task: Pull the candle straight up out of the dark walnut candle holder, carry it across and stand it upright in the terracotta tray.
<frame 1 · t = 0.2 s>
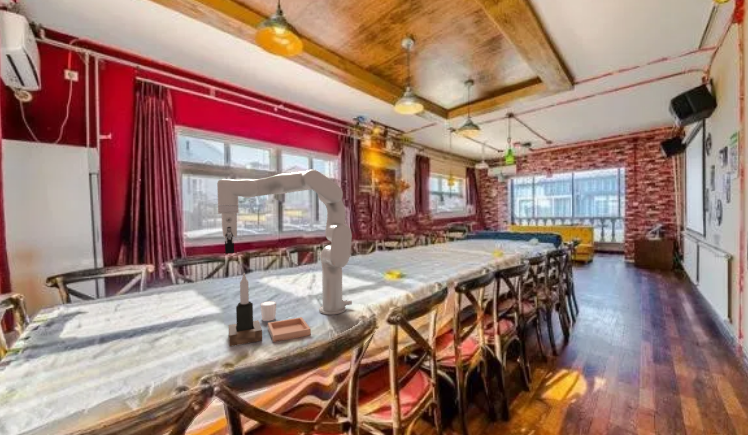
hand: (229, 251, 126), 32 cm above the table, tool pointing down, fingers open, 9 cm apart
candle holder: (245, 337, 118), on the table
tray: (288, 331, 123), on the table
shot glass: (268, 318, 138), on the table
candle: (245, 338, 118), resting in candle holder
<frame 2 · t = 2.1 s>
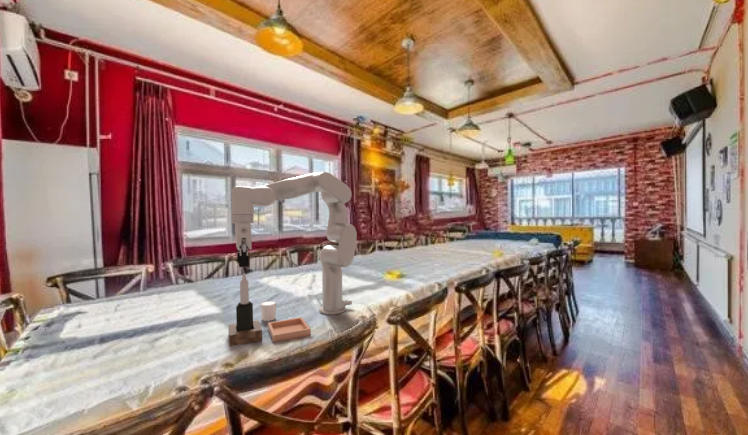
hand: (242, 264, 116), 28 cm above the table, tool pointing down, fingers open, 9 cm apart
nothing on the table moved.
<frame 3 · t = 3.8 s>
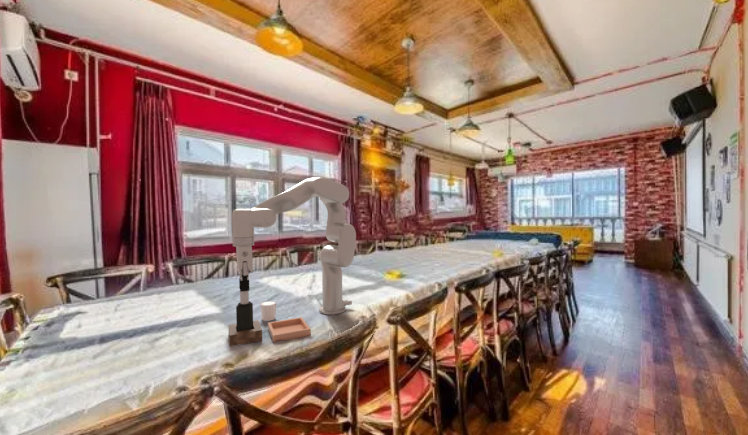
hand: (244, 289, 117), 19 cm above the table, tool pointing down, fingers closed on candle, 2 cm apart
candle: (245, 338, 118), resting in candle holder, touching gripper
everything else where it was.
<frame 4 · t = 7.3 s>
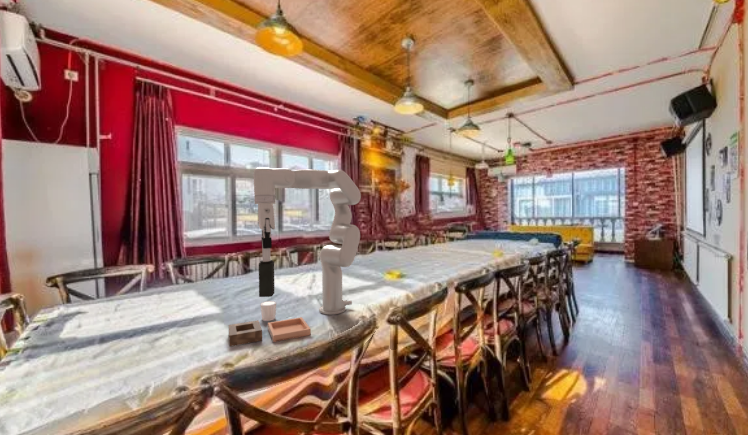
hand: (266, 247, 119), 34 cm above the table, tool pointing down, fingers closed on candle, 2 cm apart
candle: (266, 295, 120), point 15 cm above the table, touching gripper
everything else where it was.
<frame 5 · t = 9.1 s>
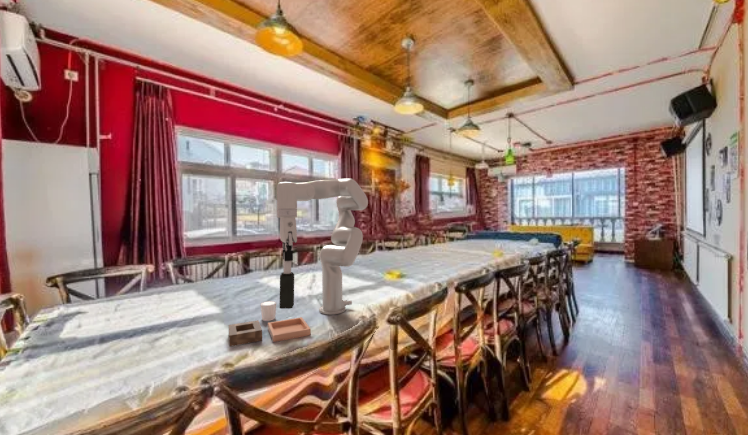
hand: (287, 259, 122), 29 cm above the table, tool pointing down, fingers closed on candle, 2 cm apart
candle: (286, 307, 122), point 10 cm above the table, touching gripper
everything else where it was.
when the fingers open (21 cm above the table, at t = 10.8 s): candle drops 1 cm, resting on tray.
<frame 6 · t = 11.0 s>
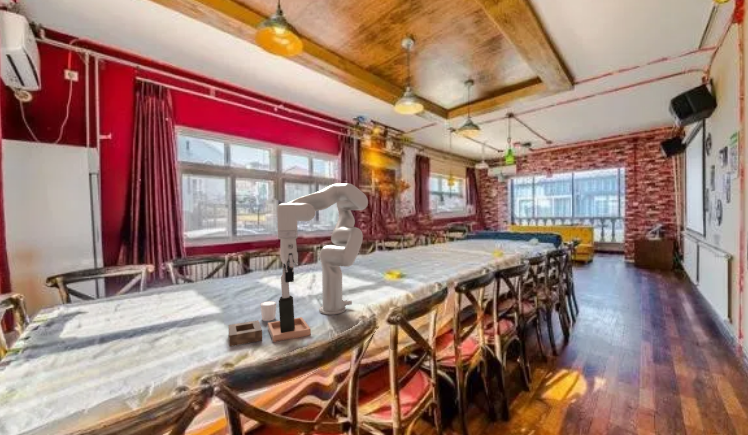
hand: (288, 280, 122), 21 cm above the table, tool pointing down, fingers open, 4 cm apart
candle: (287, 330, 123), point 1 cm above the table, touching tray
everything else where it was.
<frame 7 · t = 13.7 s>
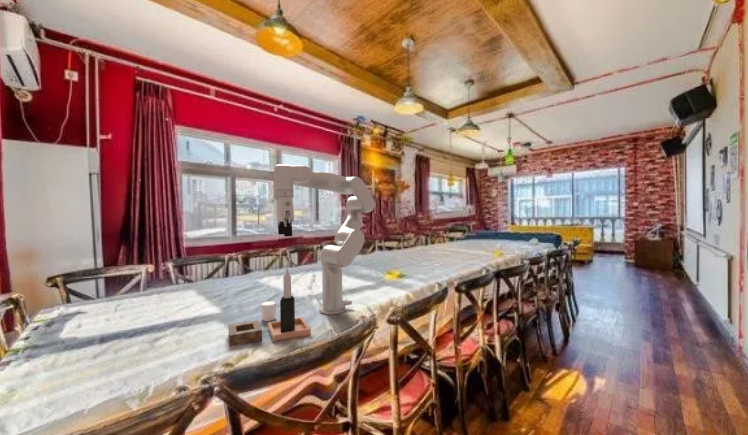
hand: (285, 235, 130), 38 cm above the table, tool pointing down, fingers open, 9 cm apart
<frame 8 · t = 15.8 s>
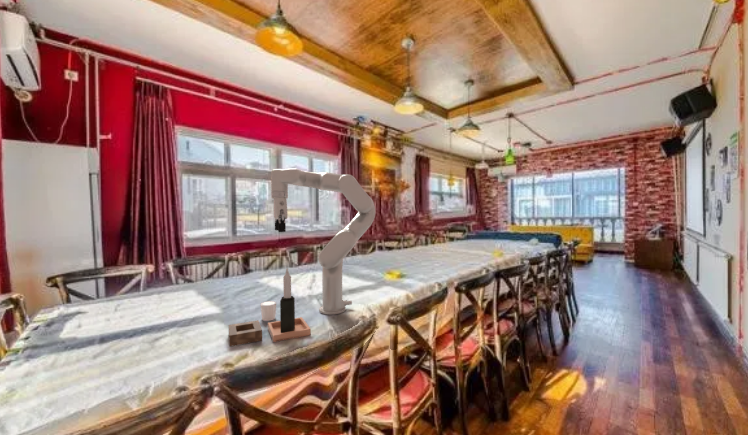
hand: (280, 231, 147), 38 cm above the table, tool pointing down, fingers open, 9 cm apart
nothing on the table moved.
at the end: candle inside the target area on the tray (0.4 cm from its centre), point 0.4 cm above the tray's base; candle tilted 0°; the gripper is holding nothing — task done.
